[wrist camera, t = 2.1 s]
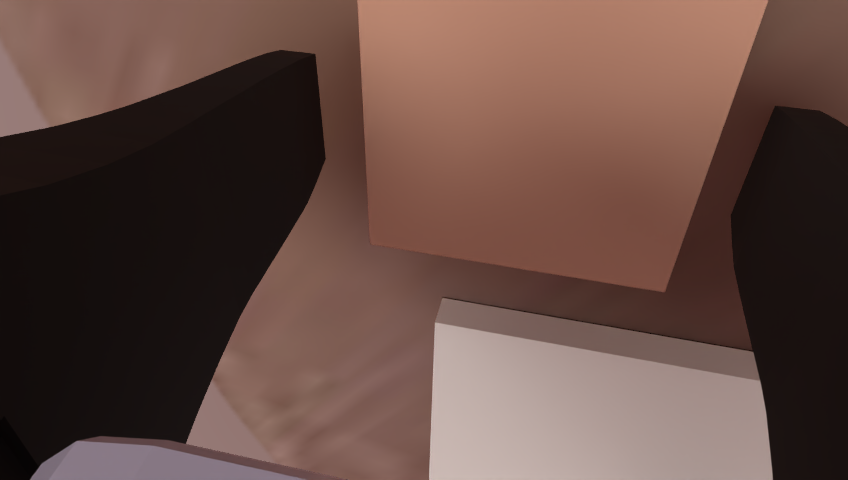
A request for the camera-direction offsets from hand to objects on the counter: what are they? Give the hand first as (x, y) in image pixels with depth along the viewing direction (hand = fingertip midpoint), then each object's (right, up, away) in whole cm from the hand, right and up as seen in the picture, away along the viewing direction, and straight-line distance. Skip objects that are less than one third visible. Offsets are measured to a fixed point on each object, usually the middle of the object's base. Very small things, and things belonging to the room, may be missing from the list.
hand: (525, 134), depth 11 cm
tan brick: (+1, +2, +3) cm, 4 cm away
